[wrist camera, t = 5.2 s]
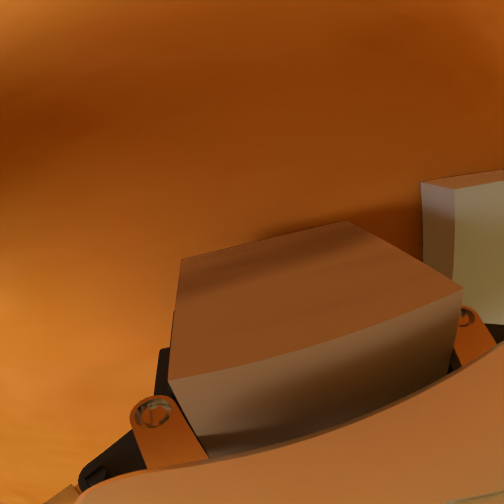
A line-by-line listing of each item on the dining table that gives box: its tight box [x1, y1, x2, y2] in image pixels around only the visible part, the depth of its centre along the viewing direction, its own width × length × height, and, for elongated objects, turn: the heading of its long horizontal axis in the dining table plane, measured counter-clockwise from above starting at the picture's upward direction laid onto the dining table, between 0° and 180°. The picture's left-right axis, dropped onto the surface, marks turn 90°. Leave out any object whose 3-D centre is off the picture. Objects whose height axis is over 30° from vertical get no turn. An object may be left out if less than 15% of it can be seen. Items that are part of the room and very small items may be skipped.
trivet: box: [420, 169, 504, 325], centre depth 14 cm, size 12×12×2 cm
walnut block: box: [168, 220, 464, 458], centre depth 9 cm, size 6×6×6 cm
